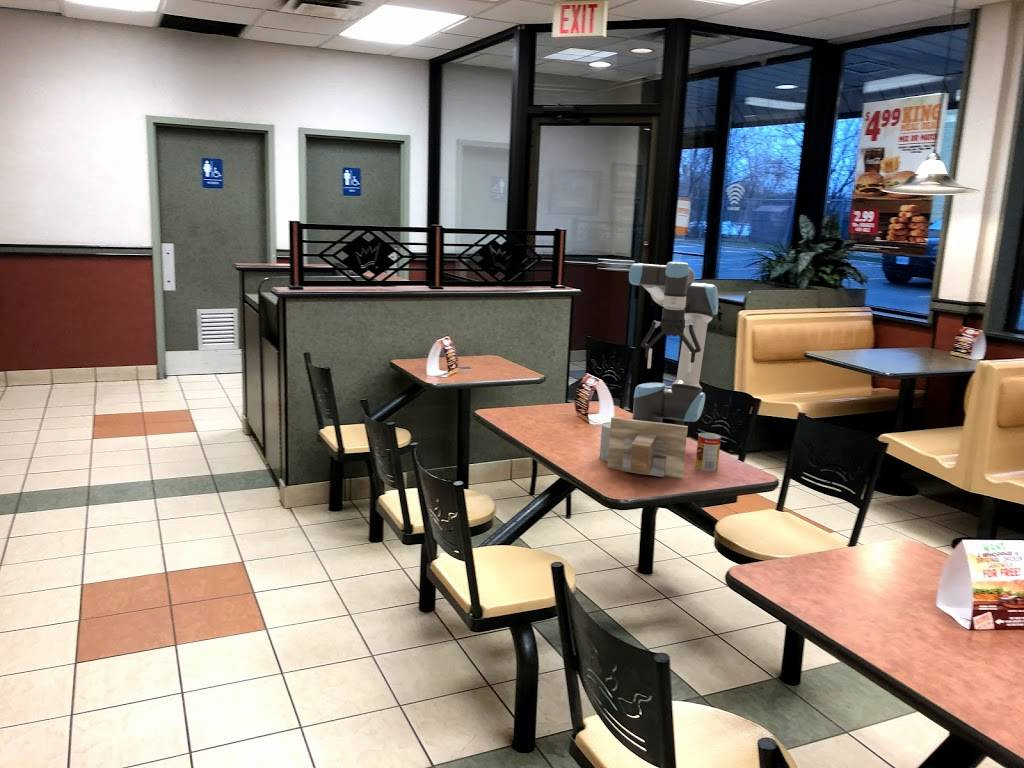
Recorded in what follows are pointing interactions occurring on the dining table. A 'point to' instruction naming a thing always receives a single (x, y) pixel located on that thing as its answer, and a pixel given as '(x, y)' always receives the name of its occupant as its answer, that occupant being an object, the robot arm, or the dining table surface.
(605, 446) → the grey-green block
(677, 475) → the wall board
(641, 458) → the upright wooden block
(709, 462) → the canned food
